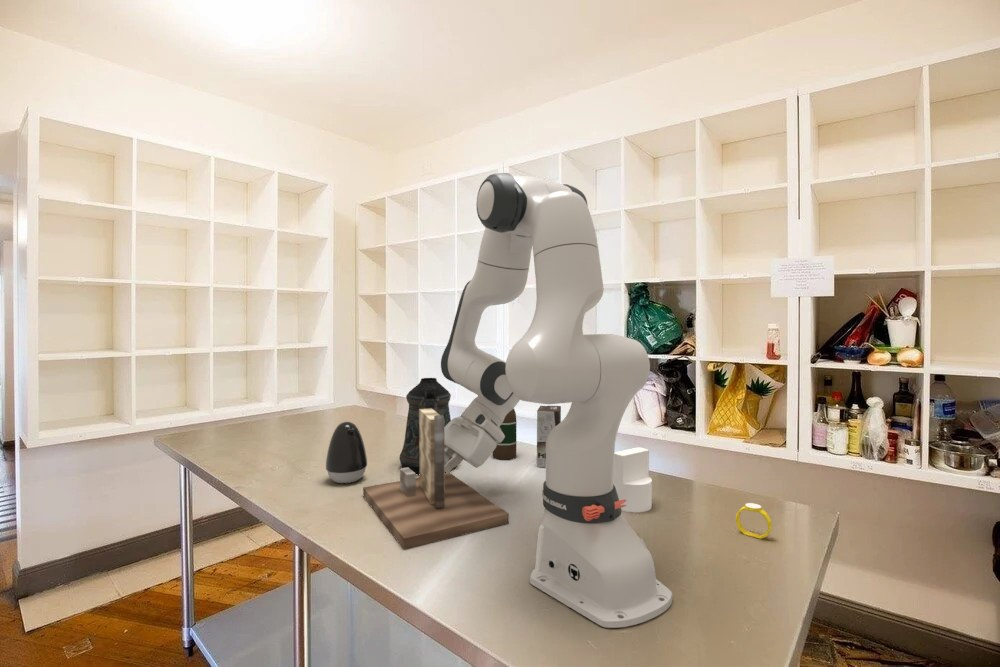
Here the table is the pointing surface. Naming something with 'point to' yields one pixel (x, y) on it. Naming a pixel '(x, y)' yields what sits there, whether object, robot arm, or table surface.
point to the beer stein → (418, 398)
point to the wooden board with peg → (431, 510)
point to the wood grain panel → (432, 456)
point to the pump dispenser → (346, 454)
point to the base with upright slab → (633, 479)
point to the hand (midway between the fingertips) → (441, 469)
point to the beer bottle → (507, 438)
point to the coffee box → (545, 429)
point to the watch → (753, 508)
